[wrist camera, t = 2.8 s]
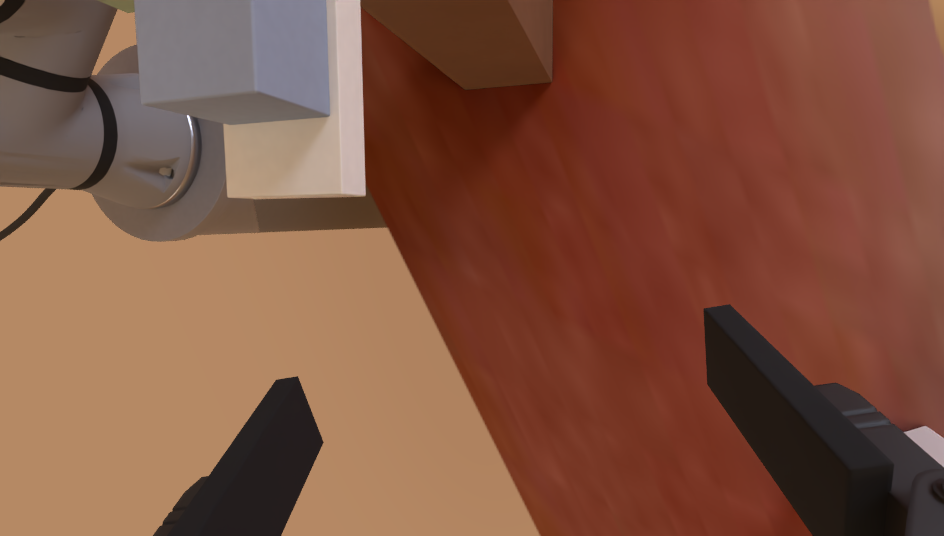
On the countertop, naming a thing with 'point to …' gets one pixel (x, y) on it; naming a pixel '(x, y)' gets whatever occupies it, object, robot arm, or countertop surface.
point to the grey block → (264, 87)
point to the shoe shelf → (468, 37)
